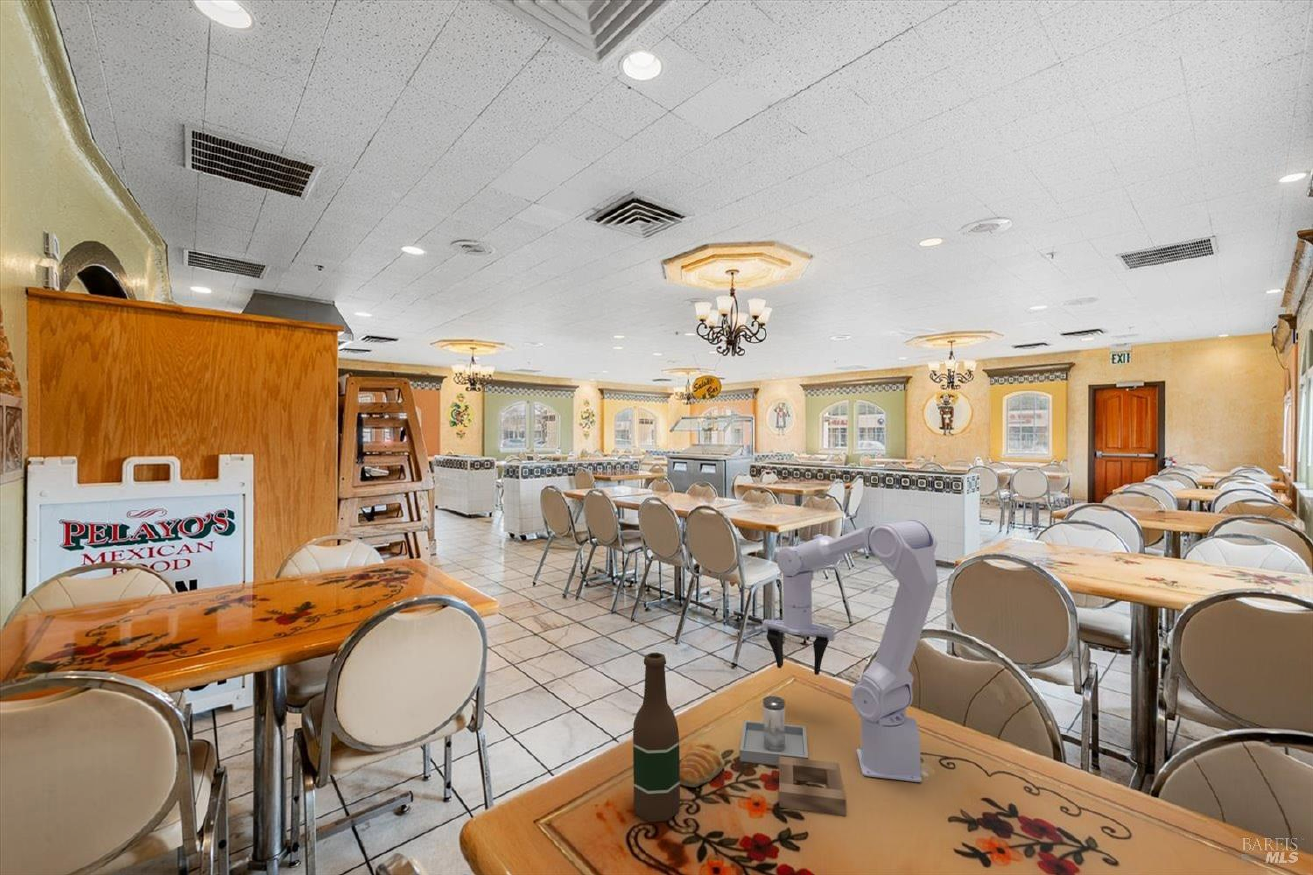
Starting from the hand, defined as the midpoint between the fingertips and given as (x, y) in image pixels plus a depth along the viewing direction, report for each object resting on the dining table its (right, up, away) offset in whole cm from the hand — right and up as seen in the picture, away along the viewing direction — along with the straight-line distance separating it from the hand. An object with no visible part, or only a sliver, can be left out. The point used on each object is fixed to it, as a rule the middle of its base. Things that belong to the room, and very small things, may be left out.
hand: (798, 669), depth 114 cm
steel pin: (-7, -10, -11) cm, 16 cm away
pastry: (-22, -11, -18) cm, 30 cm away
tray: (-7, -10, -11) cm, 17 cm away
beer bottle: (-30, -11, -27) cm, 42 cm away
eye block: (-4, -10, -24) cm, 26 cm away
